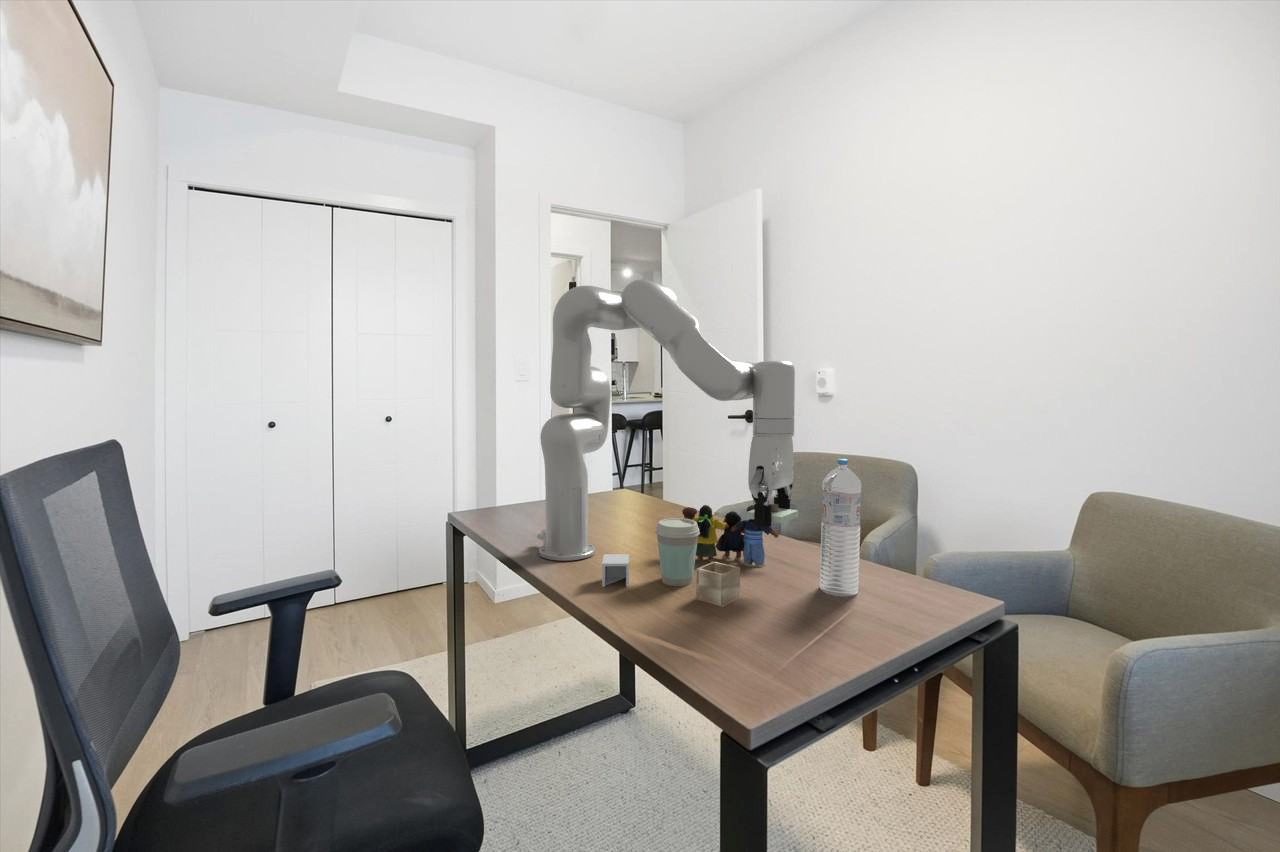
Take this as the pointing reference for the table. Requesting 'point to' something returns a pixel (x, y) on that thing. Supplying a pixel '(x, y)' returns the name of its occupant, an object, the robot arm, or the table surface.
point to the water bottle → (840, 532)
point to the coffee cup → (677, 550)
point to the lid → (778, 514)
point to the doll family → (729, 536)
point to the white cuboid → (615, 568)
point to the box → (718, 583)
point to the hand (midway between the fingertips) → (772, 521)
